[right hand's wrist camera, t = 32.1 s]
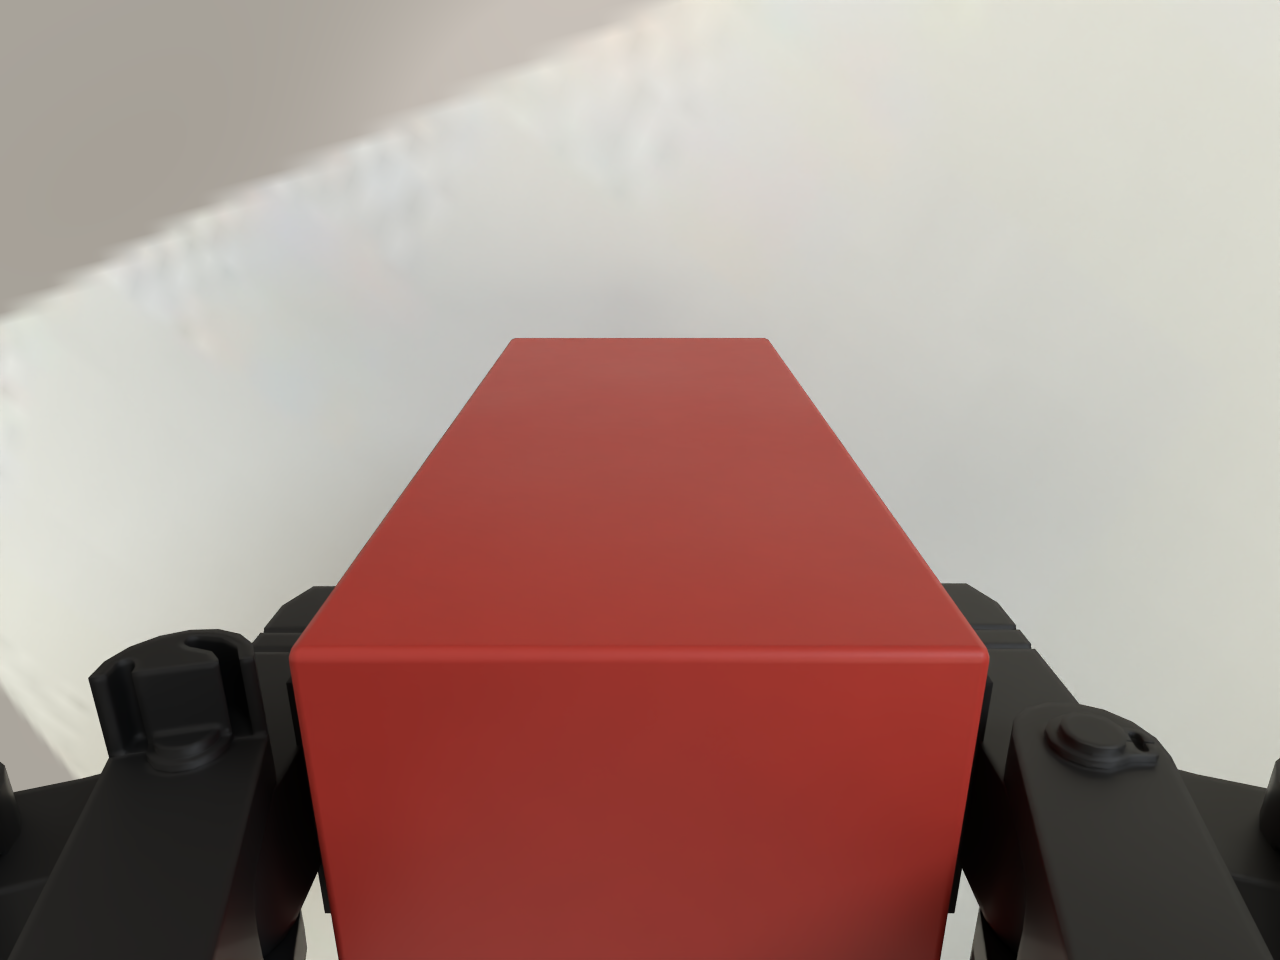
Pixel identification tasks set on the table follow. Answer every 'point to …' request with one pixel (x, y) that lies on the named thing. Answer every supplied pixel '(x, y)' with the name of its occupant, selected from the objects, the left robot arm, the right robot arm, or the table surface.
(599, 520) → the brick
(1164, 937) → the right robot arm
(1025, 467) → the table surface
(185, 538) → the table surface
